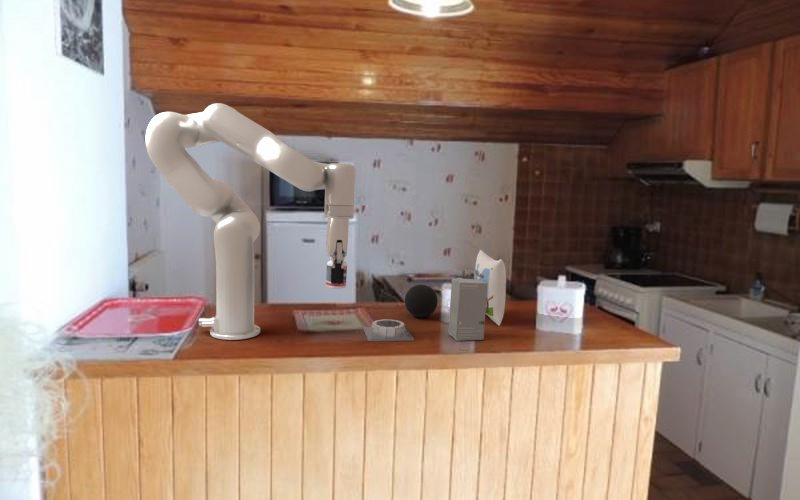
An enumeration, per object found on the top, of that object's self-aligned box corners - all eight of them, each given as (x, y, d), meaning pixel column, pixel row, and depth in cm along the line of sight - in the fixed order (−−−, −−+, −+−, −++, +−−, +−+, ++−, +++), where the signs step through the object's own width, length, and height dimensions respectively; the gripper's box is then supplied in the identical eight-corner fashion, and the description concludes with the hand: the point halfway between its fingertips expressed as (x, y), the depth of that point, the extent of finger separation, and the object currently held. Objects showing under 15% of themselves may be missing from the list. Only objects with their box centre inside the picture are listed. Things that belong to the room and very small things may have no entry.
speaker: (439, 314, 177) (441, 283, 176) (433, 322, 167) (434, 289, 166) (408, 311, 179) (409, 280, 178) (400, 319, 170) (401, 286, 168)
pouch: (491, 310, 186) (495, 249, 183) (509, 326, 167) (514, 259, 164) (467, 310, 185) (471, 249, 182) (483, 326, 166) (487, 258, 163)
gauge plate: (368, 341, 147) (368, 329, 147) (363, 329, 158) (363, 318, 157) (413, 340, 149) (414, 329, 149) (405, 328, 160) (406, 318, 160)
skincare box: (456, 341, 150) (459, 282, 148) (446, 333, 157) (449, 277, 155) (485, 340, 152) (489, 282, 150) (475, 332, 159) (478, 277, 157)
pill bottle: (342, 289, 146) (344, 255, 145) (323, 287, 147) (324, 253, 146) (348, 285, 151) (350, 252, 150) (329, 283, 152) (331, 251, 151)
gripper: (322, 208, 154) (320, 274, 156) (326, 214, 137) (323, 287, 140) (350, 209, 155) (347, 275, 158) (357, 215, 139) (353, 288, 141)
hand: (336, 280), depth 149 cm, fingers closed on pill bottle, 5 cm apart
